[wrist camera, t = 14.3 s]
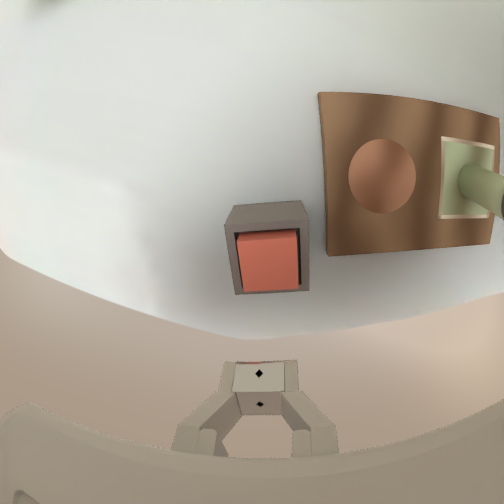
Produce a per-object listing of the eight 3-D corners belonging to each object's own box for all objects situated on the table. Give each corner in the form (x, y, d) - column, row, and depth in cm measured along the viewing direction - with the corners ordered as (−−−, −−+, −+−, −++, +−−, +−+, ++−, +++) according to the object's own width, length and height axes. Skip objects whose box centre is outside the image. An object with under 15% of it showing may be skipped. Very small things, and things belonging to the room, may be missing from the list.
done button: (294, 228, 19) (296, 237, 18) (297, 277, 21) (298, 288, 19) (239, 233, 20) (236, 241, 18) (246, 280, 21) (243, 291, 20)
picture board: (492, 117, 16) (499, 118, 15) (483, 239, 22) (489, 244, 21) (317, 93, 19) (320, 91, 17) (325, 250, 25) (328, 257, 23)
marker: (482, 164, 18) (547, 191, 9) (479, 198, 19) (539, 236, 11) (457, 161, 18) (526, 189, 10) (455, 198, 20) (517, 239, 11)
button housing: (301, 200, 23) (308, 219, 18) (303, 260, 25) (309, 290, 21) (233, 205, 23) (224, 225, 19) (242, 264, 26) (235, 294, 21)
